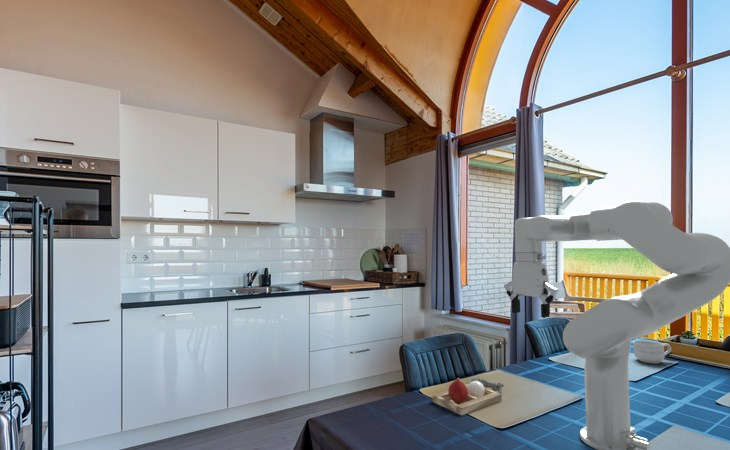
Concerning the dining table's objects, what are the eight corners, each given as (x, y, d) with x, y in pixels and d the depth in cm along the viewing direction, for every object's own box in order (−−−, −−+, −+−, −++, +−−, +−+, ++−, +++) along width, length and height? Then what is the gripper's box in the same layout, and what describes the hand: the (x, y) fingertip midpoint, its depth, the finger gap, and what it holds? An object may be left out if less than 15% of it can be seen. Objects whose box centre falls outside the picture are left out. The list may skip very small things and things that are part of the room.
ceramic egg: (488, 398, 125) (488, 381, 125) (477, 402, 122) (477, 385, 122) (475, 393, 129) (475, 377, 129) (464, 397, 126) (464, 380, 126)
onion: (444, 402, 122) (444, 376, 122) (459, 399, 124) (459, 373, 125) (456, 409, 117) (456, 382, 117) (472, 406, 119) (471, 379, 119)
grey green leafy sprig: (505, 397, 129) (505, 384, 130) (486, 400, 127) (486, 387, 127) (485, 386, 139) (485, 374, 140) (467, 389, 137) (467, 376, 137)
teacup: (638, 364, 161) (637, 344, 162) (629, 357, 172) (628, 338, 172) (679, 367, 157) (678, 346, 157) (667, 359, 167) (666, 340, 168)
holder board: (502, 404, 123) (501, 394, 123) (462, 419, 113) (461, 408, 113) (471, 392, 133) (471, 382, 133) (432, 405, 123) (432, 395, 123)
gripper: (563, 258, 116) (565, 317, 115) (511, 257, 130) (513, 309, 129) (548, 259, 111) (550, 320, 111) (497, 257, 126) (498, 312, 125)
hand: (530, 314), depth 120 cm, fingers open, 9 cm apart
